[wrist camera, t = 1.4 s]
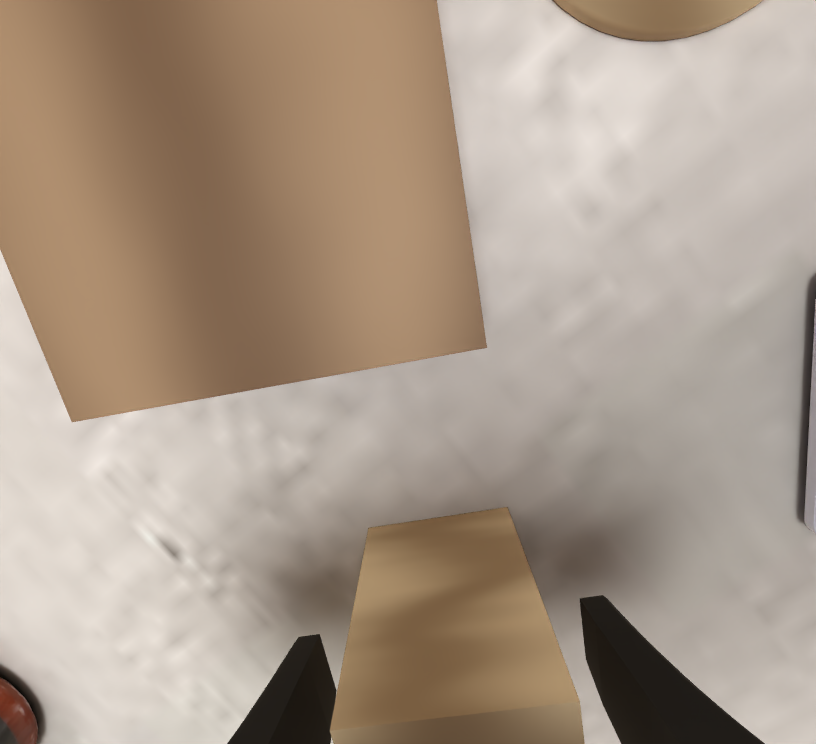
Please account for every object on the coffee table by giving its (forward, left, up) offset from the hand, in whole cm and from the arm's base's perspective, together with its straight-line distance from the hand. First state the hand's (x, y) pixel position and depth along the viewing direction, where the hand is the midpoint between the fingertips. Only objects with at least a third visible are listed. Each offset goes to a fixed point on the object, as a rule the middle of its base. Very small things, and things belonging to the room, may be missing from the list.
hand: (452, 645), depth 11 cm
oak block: (0, 0, -3) cm, 3 cm away
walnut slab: (+3, -13, -3) cm, 14 cm away
